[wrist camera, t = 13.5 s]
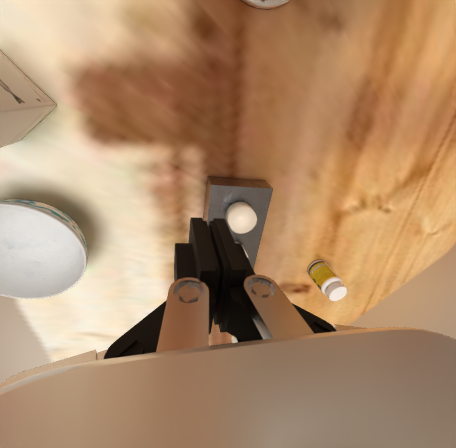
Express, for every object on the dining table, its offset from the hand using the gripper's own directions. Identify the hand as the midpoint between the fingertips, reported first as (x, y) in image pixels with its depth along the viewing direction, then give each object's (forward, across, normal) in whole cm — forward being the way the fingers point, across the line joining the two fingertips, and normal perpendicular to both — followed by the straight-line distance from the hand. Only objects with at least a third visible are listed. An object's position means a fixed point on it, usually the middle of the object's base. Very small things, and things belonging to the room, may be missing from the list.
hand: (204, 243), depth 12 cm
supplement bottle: (+27, -32, +25) cm, 49 cm away
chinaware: (+27, +20, +15) cm, 37 cm away
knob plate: (+27, -10, +17) cm, 33 cm away
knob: (+26, -10, +10) cm, 29 cm away
